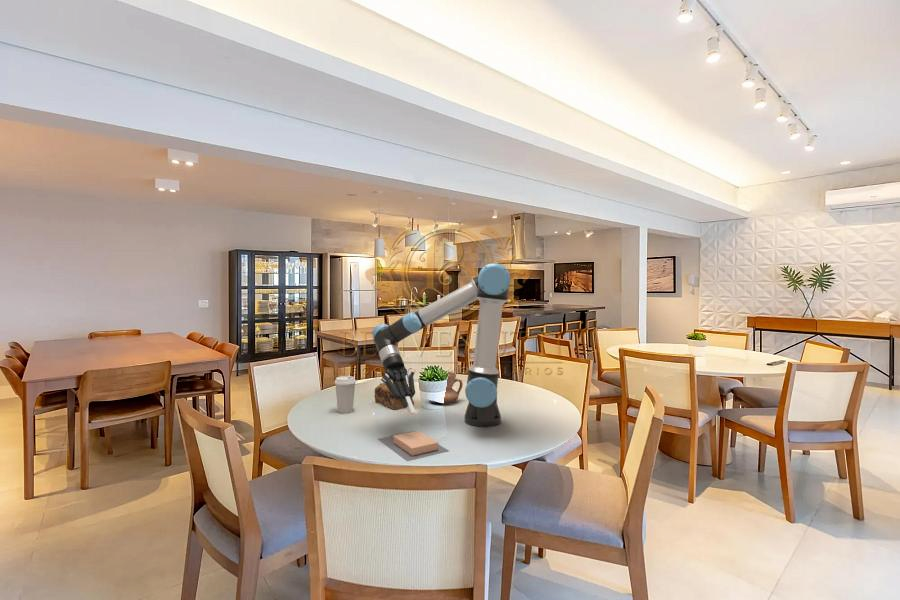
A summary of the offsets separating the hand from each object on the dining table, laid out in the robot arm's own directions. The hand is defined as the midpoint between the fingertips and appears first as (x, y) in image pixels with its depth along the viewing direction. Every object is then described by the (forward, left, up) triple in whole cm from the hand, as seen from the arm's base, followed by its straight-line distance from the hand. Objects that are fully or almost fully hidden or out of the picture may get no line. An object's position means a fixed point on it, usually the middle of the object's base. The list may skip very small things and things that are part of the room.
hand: (412, 414), depth 150 cm
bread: (+7, -56, -12) cm, 57 cm away
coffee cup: (+28, -46, -11) cm, 55 cm away
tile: (+2, -4, -9) cm, 10 cm away
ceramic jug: (-18, -56, -11) cm, 60 cm away
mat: (0, 0, -11) cm, 11 cm away
